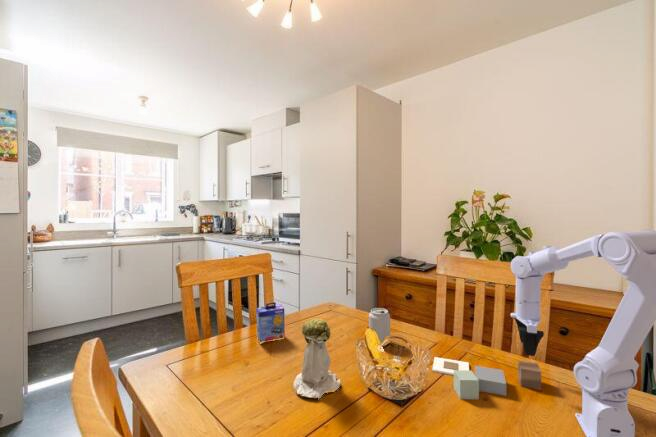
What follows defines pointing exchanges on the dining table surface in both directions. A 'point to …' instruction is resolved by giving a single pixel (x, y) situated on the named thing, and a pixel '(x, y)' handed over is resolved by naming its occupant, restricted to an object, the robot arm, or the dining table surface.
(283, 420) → the dining table surface
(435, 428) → the dining table surface
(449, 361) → the plaque
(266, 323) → the ink cartridge box
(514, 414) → the dining table surface
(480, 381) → the slate plinth
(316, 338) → the grey statuette
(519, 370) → the walnut block
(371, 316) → the can
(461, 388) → the grey-green block
